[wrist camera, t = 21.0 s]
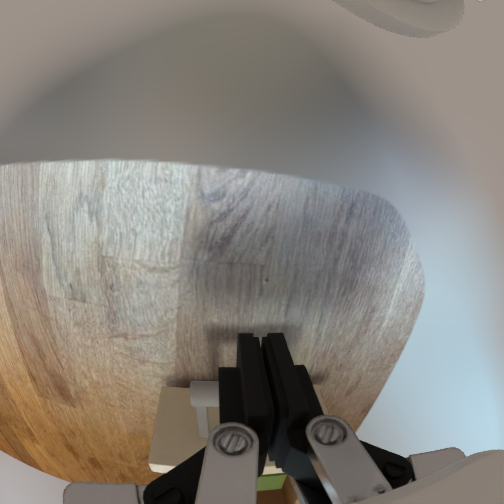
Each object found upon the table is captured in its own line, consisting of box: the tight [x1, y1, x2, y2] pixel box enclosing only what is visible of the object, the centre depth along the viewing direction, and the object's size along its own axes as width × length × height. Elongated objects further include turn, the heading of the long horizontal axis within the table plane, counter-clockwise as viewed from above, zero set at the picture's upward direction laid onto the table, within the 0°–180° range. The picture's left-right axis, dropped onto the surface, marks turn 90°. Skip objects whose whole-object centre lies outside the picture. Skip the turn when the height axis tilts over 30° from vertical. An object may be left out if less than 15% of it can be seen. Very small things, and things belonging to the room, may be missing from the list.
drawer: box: [148, 381, 329, 504], centre depth 17 cm, size 18×11×7 cm, turn 177°
